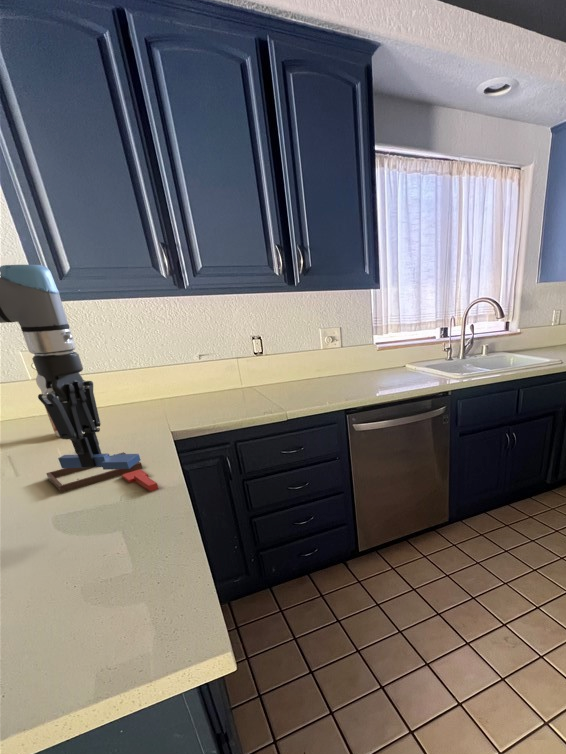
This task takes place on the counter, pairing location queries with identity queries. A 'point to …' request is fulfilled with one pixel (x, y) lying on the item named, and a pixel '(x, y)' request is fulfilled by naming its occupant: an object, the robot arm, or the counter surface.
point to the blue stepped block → (102, 461)
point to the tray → (86, 481)
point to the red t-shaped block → (141, 479)
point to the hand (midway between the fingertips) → (93, 463)
